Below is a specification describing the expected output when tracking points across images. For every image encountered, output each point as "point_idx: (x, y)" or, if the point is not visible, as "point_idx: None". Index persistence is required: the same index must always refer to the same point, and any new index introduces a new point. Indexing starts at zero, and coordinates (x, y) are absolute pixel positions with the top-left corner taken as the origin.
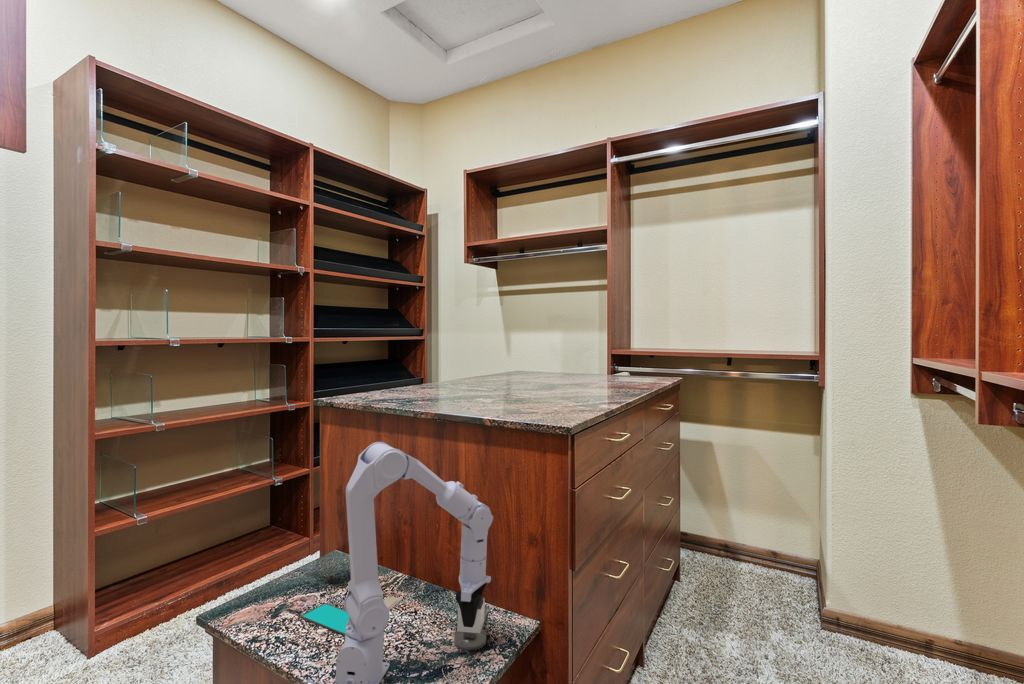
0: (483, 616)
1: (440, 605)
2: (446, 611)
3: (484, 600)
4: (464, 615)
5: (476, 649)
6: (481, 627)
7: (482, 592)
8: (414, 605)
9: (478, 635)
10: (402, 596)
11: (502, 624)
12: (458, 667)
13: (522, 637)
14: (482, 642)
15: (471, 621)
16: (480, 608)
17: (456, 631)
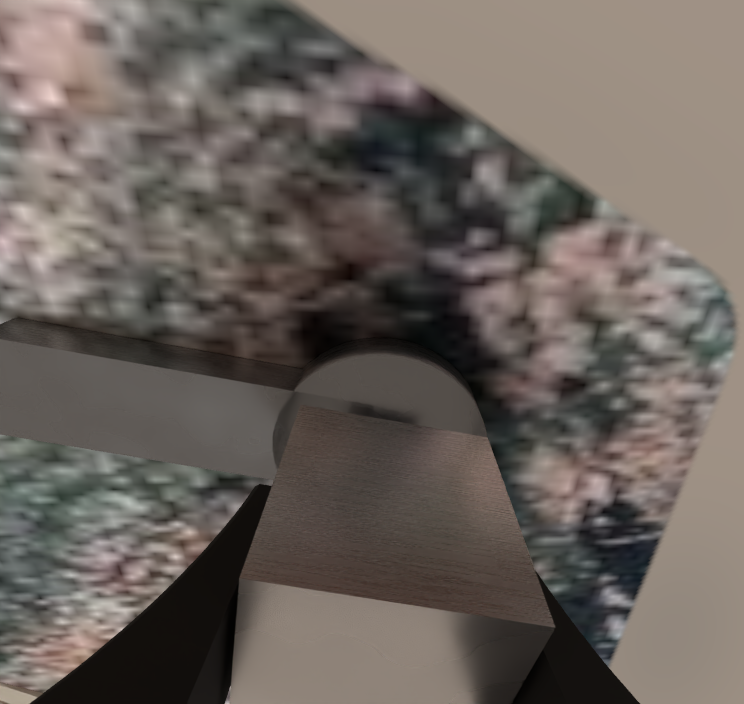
0: (330, 445)
1: (28, 565)
2: (81, 539)
3: (266, 561)
4: None
5: (474, 397)
6: (426, 433)
7: (199, 683)
8: (71, 654)
9: (392, 407)
10: (13, 696)
11: (146, 207)
12: (617, 480)
13: (321, 27)
14: (452, 376)
15: None
16: (526, 628)
17: None
